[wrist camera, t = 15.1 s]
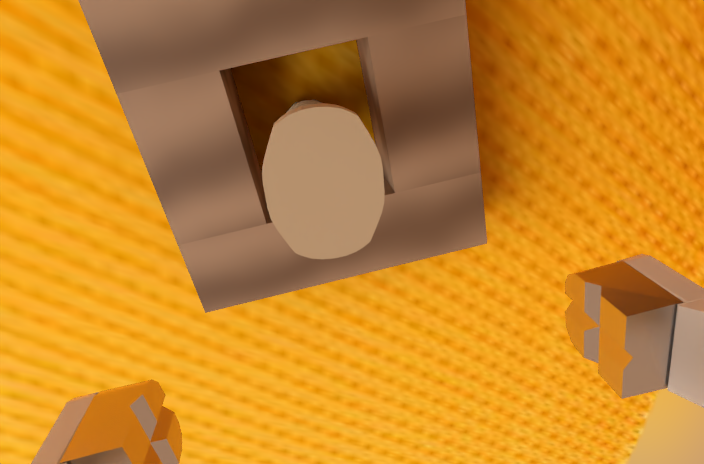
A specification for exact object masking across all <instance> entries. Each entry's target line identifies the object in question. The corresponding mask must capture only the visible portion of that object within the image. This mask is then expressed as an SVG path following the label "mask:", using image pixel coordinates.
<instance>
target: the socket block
mask: <svg viewBox="0 0 704 464" xmlns="http://www.w3.org/2000/svg"><path fill="white" fill-rule="evenodd" d="M79 2H80V5H81V7H82V10H83V12H84V15H85V17H86V20H87V22H88V25H89V27H90V30H91V32H92V34H93V37H94V39H95V42H96V44H97V47H98V49H99V52H100V54H101V57H102V59H103V62H104V64H105V66H106V69H107V71H108V74H109V76H110V79H111V81H112V84H113V86H114V89H115V91H116V94H117V96H118V98H119V101H120V103H121V106H122V108H123V111H124V113H125V116H126V118H127V121H128V123H129V126H130V128H131V130H132V133H133V135H134V138H135V140H136V143H137V145H138V148H139V150H140V153H141V155H142V158H143V160H144V162H145V165H146V167H147V170H148V172H149V175H150V177H151V180H152V182H153V185H154V187H155V190H156V192H157V194H158V197H159V199H160V202H161V204H162V207H163V209H164V212H165V214H166V217H167V219H168V222H169V224H170V226H171V229H172V231H173V234H174V236H175V239H176V241H177V244H178V246H179V249H180V251H181V254H182V256H183V258H184V261H185V263H186V266H187V268H188V271H189V273H190V276H191V278H192V281H193V283H194V286H195V288H196V290H197V293H198V295H199V298H200V300H201V303H202V305H203V308H204V310H205V313H206V312H210V311H214V310H218V309H222V308H226V307H230V306H234V305H238V304H243V303H247V302H251V301H255V300H259V299H263V298H267V297H271V296H275V295H279V294H283V293H287V292H291V291H295V290H299V289H303V288H307V287H312V286H316V285H320V284H324V283H328V282H332V281H336V280H340V279H344V278H348V277H352V276H356V275H360V274H364V273H368V272H372V271H377V270H381V269H385V268H389V267H393V266H397V265H401V264H405V263H409V262H413V261H417V260H421V259H425V258H429V257H433V256H437V255H441V254H446V253H450V252H454V251H458V250H462V249H466V248H470V247H474V246H478V245H482V244H486V243H487V236H486V225H485V214H484V203H483V192H482V181H481V170H480V159H479V148H478V137H477V126H476V115H475V104H474V93H473V81H472V70H471V59H470V48H469V37H468V26H467V15H466V4H465V0H79ZM352 40H357V46H358V51H359V57H360V62H361V67H362V73H363V78H364V84H365V89H366V94H367V100H368V105H369V111H370V116H371V121H372V127H373V132H374V138H375V143H376V147H377V149H378V151H379V154H380V156H381V161H382V166H383V177H384V190H385V195H384V206H383V210H382V214H381V216H380V219H379V222H378V224H377V227H376V229H375V232H374V234H373V237H372V239H371V241H370V242H369V243H368V244H367V245H366V246H364V247H363V248H361V249H360V250H358V251H357V252H355V253H352V254H349V255H347V256H343V257H338V258H333V259H311V258H308V257H304V256H301V255H299V254H296V253H295V252H294V251H293V250H292V249H291V247H290V246H289V245H288V243H287V242H286V241H285V240H284V238H283V237H282V236H281V234H280V233H279V232H278V230H277V229H276V227H275V225H274V224H273V222H272V220H271V218H270V215H269V211H268V208H267V203H266V198H265V192H264V187H263V179H262V172H261V169H260V166H259V162H258V159H257V156H256V152H255V149H254V146H253V142H252V139H251V136H250V132H249V129H248V126H247V122H246V119H245V116H244V112H243V109H242V106H241V102H240V99H239V95H238V92H237V89H236V85H235V82H234V79H233V75H232V72H231V69H230V68H233V67H237V66H242V65H246V64H251V63H255V62H259V61H264V60H268V59H272V58H277V57H281V56H286V55H290V54H294V53H299V52H303V51H308V50H312V49H316V48H321V47H325V46H330V45H334V44H338V43H343V42H347V41H352Z"/></svg>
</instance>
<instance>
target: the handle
mask: <svg viewBox="0 0 704 464" xmlns="http://www.w3.org/2000/svg"><path fill="white" fill-rule="evenodd" d="M262 179H263V187H264V192H265V198H266V203H267V208H268V211H269V215H270V218H271V220H272V222H273V224H274V225H275V227H276V229H277V230H278V232H279V233H280V234H281V236H282V237H283V238H284V240H285V241H286V242H287V243H288V245H289V246H290V247H291V249H292V250H293V251H294V252H295V253H296V254H299V255H301V256H304V257H308V258H311V259H333V258H338V257H343V256H347V255H349V254H352V253H355V252H357V251H358V250H360V249H361V248H363V247H364V246H366V245H367V244H368V243H369V242H370V241H371V239H372V237H373V234H374V232H375V229H376V227H377V224H378V222H379V219H380V216H381V214H382V210H383V206H384V195H385V190H384V177H383V166H382V161H381V156H380V154H379V151H378V149H377V147H376V145H375V143H374V141H373V139H372V138H371V136H370V134H369V133H368V131H367V129H366V128H365V126H364V124H363V123H362V121H361V120H360V118H359V116H358V115H357V114H356V113H355V112H353V111H351V110H349V109H347V108H344V107H342V106H339V105H334V104H326V103H321V102H320V101H318V100H315V99H313V100H305V101H301V102H299V101H297V102H295V103H294V104H293V105H292V106H291V108H290V109H289V110H288V111H287V112H286V114H284V115H283V116H281V117H280V118H279V119H278V120H277V121H276V122H275V123H274V125H273V128H272V132H271V135H270V138H269V142H268V145H267V149H266V153H265V157H264V161H263V166H262Z"/></svg>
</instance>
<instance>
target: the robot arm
mask: <svg viewBox="0 0 704 464" xmlns="http://www.w3.org/2000/svg"><path fill="white" fill-rule="evenodd" d="M565 293H566V294H567V295H568V296H569V297H570V298H571V299H572V300H573V301H572V302H571V304H570V305H569V307H568V308H567V310H566V312H565V316H566V327H567V330H568V333H569V336H570V339H571V341H572V343H573V344H574V346H575V348H576V349H577V350H578V351H579V352H580V354H581V355H582V356H583V357H584V358H587V359H589V360H592V361H594V362H597V363H599V364H598V374H599V375H600V376H601V377H602V378H603V379H604V380H605V381H606V382H607V383H608V384H609V385H610V386H611V388H612V389H613V390H614V391H615V392H616V393H617V394H618V395H619V396H620V397H621V398H626V397H631V396H635V395H639V394H643V393H648V392H652V391H656V390H660V389H665V388H668V391H671V392H672V393H675V394H677V395H679V396H681V397H683V398H685V399H687V400H689V401H691V402H693V403H695V404H697V405H700V406H701V407H703V408H704V289H703V288H702V287H700V286H699V285H697V284H695V283H694V282H692V281H690V280H689V279H687V278H686V277H684V276H682V275H681V274H679V273H677V272H676V271H674V270H673V269H671V268H669V267H668V266H666V265H664V264H663V263H661V262H660V261H658V260H656V259H655V258H653V257H651V256H649V255H643V254H641V255H637V256H634V257H630V258H627V259H623V260H620V261H617V262H616V263H612V264H608V265H604V266H600V267H596V268H592V269H589V270H585V271H581V272H577V273H573V274H569V275H568V276H567V279H566V282H565ZM164 398H165V393H164V392H163V390H162V388H161V386H160V385H159V383H158V382H157V381H154V380H148V381H144V382H140V383H135V384H131V385H127V386H122V387H118V388H114V389H109V390H105V391H101V392H99V393H93V394H89V395H85V396H81V397H77V398H74V399H72V400H71V401H69V402H67V403H66V405H65V407H64V409H63V410H62V412H61V414H60V415H59V417H58V419H57V421H56V422H55V424H54V426H53V427H52V429H51V431H50V432H49V434H48V436H47V438H46V439H45V441H44V443H43V444H42V446H41V448H40V450H39V451H38V453H37V455H36V456H35V458H34V460H33V461H32V463H31V464H179V461H180V456H181V452H182V433H181V429H180V425H179V422H178V420H177V417H176V415H175V413H174V412H173V411H171V410H169V409H167V408H165V407H163V406H162V404H163V401H164Z"/></svg>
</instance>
